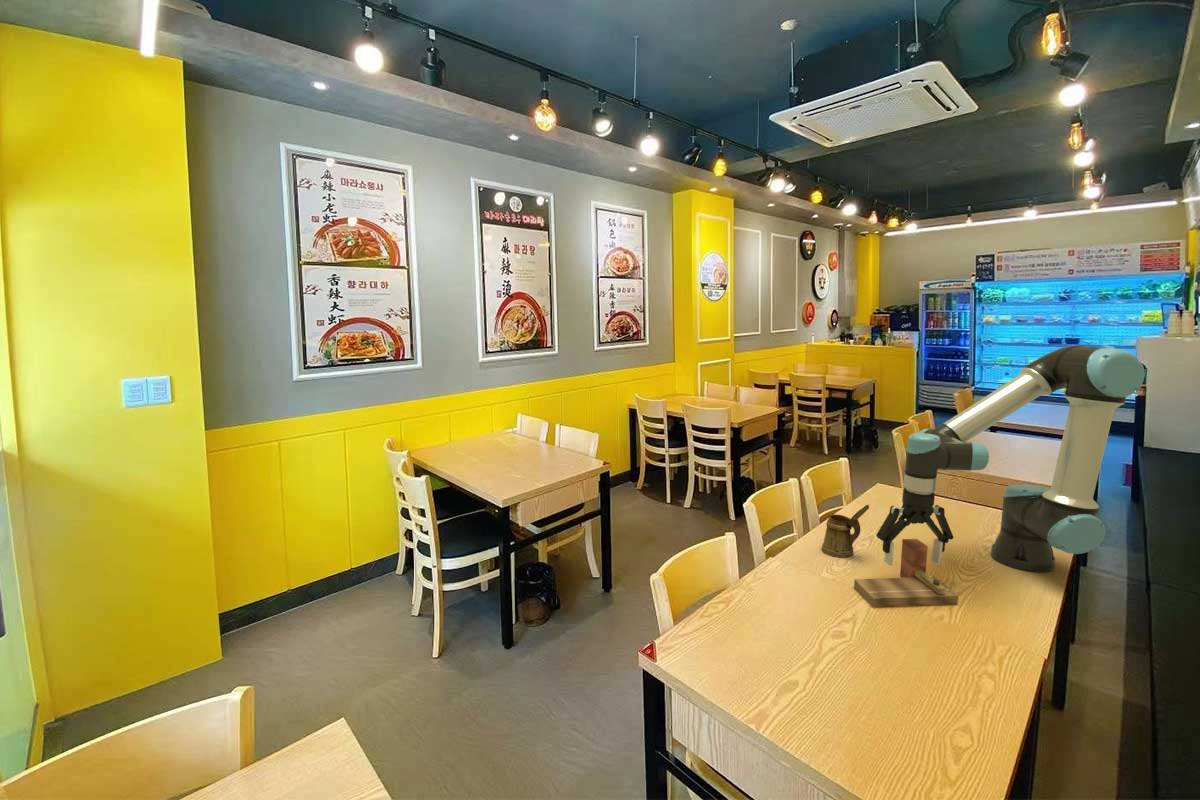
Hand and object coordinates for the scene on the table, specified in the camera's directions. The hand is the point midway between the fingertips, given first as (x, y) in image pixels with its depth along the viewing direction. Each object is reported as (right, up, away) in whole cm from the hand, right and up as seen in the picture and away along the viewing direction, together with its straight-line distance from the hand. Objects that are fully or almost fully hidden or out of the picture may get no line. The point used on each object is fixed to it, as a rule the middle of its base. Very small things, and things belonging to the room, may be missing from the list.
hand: (912, 562), depth 150 cm
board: (-6, -7, -7) cm, 12 cm away
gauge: (+1, -6, -4) cm, 7 cm away
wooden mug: (-11, -3, +18) cm, 21 cm away
